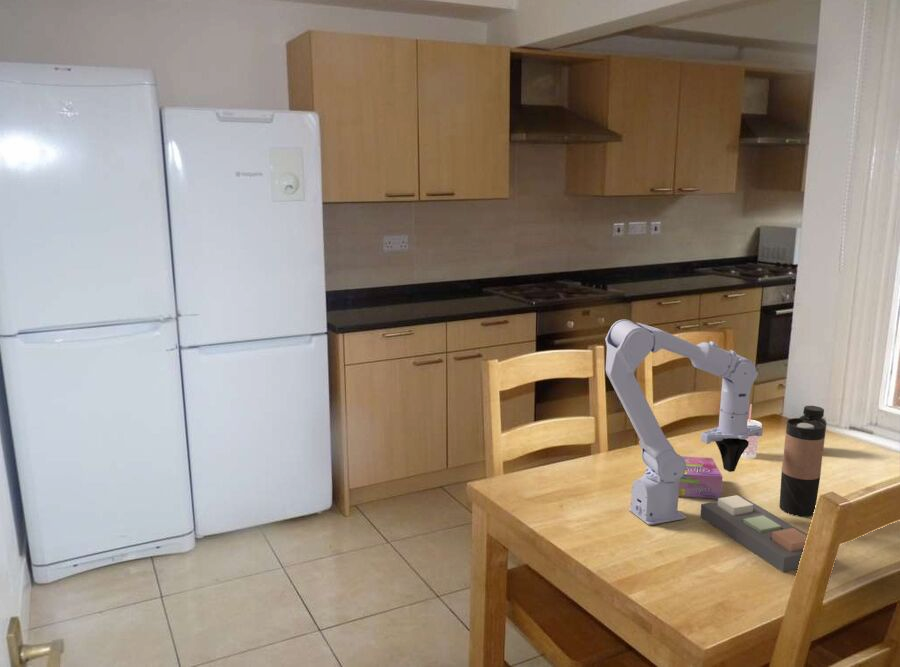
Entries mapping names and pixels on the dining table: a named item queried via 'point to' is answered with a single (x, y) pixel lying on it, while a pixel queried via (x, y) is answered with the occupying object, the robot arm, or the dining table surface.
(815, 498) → the travel mug
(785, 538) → the terracotta button
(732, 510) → the cream button
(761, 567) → the dining table surface
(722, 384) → the robot arm
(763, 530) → the sage button
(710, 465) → the box
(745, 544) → the console
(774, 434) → the dining table surface
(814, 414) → the supplement bottle
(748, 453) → the beverage cup
